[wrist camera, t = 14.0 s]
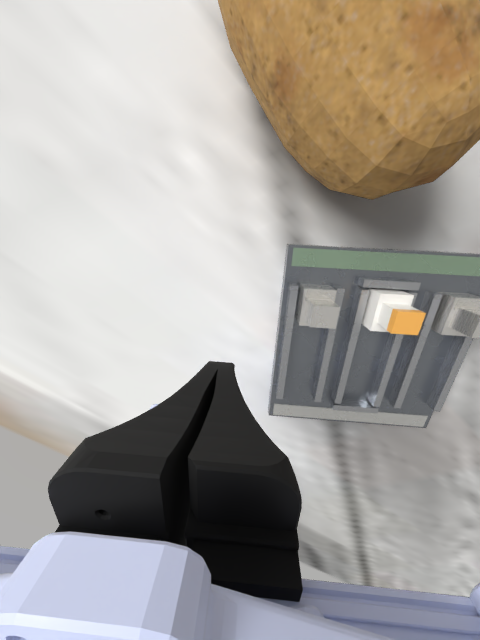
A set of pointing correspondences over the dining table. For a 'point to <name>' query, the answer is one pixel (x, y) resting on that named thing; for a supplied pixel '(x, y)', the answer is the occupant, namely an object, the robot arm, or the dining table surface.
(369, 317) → the breaker
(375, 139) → the potato
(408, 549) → the dining table surface
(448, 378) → the panel
